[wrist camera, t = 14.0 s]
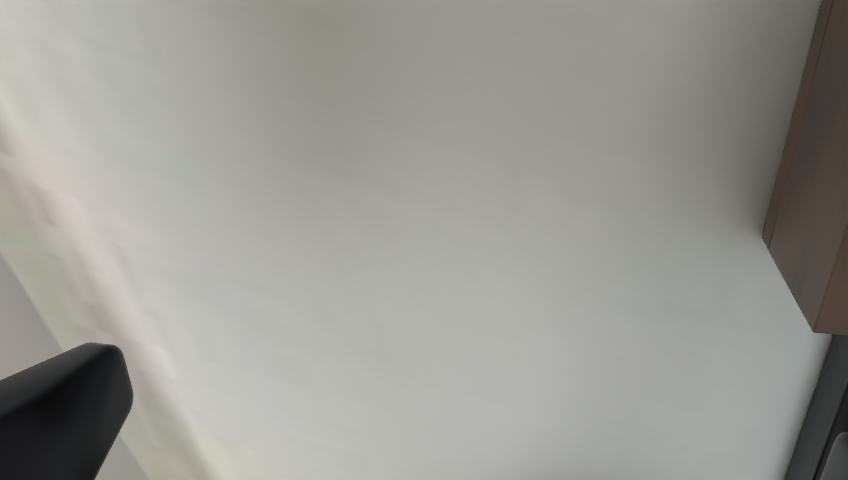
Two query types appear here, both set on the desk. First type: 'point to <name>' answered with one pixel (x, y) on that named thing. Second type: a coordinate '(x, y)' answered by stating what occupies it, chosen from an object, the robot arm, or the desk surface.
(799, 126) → the storage box
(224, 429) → the desk surface
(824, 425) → the panel
